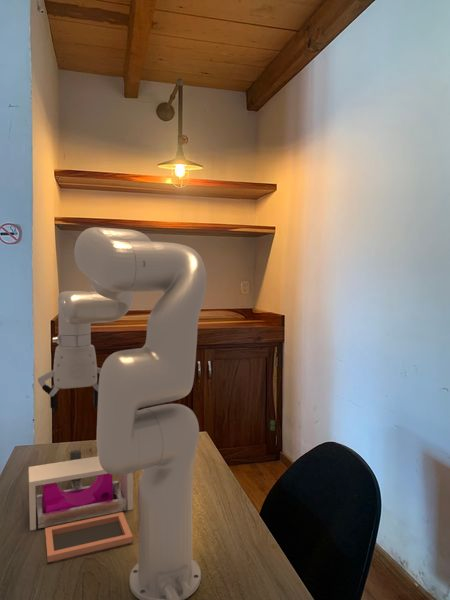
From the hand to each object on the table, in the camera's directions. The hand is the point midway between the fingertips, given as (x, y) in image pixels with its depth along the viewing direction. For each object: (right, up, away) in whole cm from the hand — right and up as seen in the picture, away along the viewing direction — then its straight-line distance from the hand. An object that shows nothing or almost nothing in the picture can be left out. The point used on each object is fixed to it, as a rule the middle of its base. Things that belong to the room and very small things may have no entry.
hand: (75, 408), depth 113 cm
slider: (+3, -20, -6) cm, 21 cm away
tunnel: (+5, -21, -10) cm, 24 cm away
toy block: (+4, -22, -9) cm, 24 cm away
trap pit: (+10, -22, -21) cm, 32 cm away
